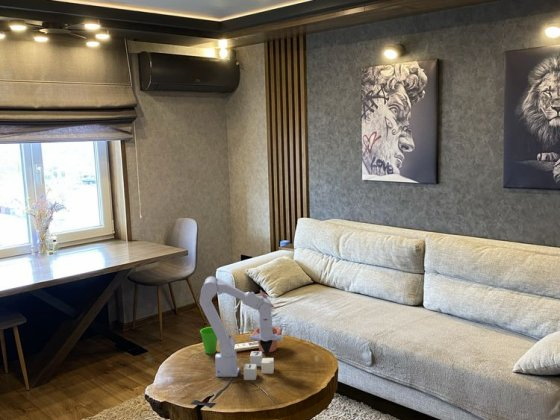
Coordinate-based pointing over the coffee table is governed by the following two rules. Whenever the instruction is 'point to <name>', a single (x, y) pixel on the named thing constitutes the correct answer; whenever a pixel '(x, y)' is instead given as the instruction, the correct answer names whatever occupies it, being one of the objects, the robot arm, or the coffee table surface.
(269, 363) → the cream block
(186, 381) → the coffee table surface
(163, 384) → the coffee table surface
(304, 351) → the coffee table surface
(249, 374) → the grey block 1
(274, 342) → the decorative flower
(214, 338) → the cup
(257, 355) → the white marked cube 7
